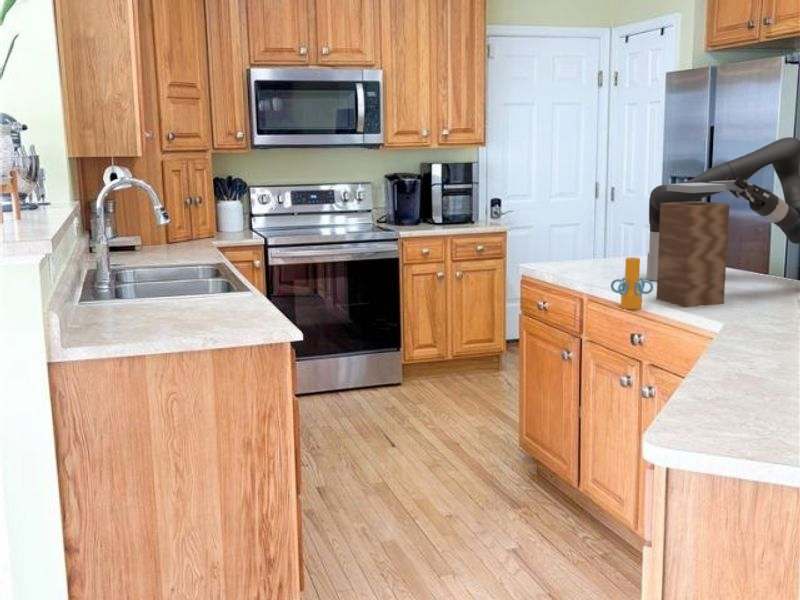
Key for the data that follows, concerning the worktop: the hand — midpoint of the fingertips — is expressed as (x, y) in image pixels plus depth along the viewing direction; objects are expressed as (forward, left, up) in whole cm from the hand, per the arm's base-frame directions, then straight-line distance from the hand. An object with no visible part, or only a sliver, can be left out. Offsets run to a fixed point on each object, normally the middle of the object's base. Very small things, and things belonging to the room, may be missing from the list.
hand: (731, 180), depth 247 cm
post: (-9, -9, -37) cm, 39 cm away
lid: (-5, -5, -3) cm, 8 cm away
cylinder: (-24, -26, -37) cm, 51 cm away
